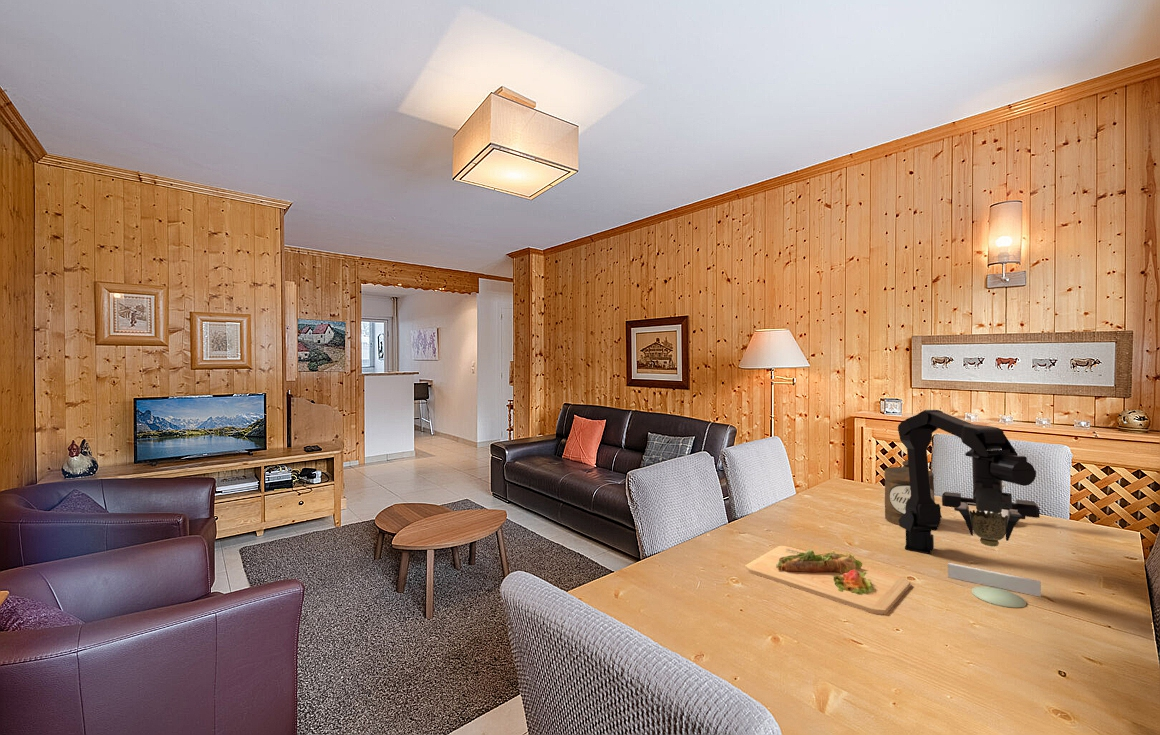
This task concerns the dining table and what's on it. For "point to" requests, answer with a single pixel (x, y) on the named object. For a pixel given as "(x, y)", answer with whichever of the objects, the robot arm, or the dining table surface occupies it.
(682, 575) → the dining table surface
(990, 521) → the cup
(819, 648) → the dining table surface
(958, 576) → the acrylic wall
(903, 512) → the wooden container
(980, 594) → the pad
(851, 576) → the cutting board
